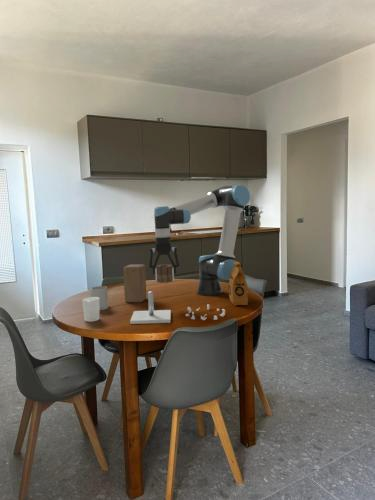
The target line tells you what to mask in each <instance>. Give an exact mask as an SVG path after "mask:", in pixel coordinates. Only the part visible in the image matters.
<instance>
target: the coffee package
mask: <svg viewBox="0 0 375 500" xmlns="http://www.w3.org/2000/svg"><path fill="white" fill-rule="evenodd" d="M234 264H235V267H234V268H233V270H232V271H231V273H230V278H229V280H228V296H229V297H228V298H229V301H230V303H232V305H233V306H234V307H236V306H237V305H243V306H242V307H244V305H247V306H248V304H249V303H248V302H249V288H248V283H247V280H246V276H245V273H244V271H243V268H242V266H241V262H240V261H237V260H235V262H234Z"/></svg>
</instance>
